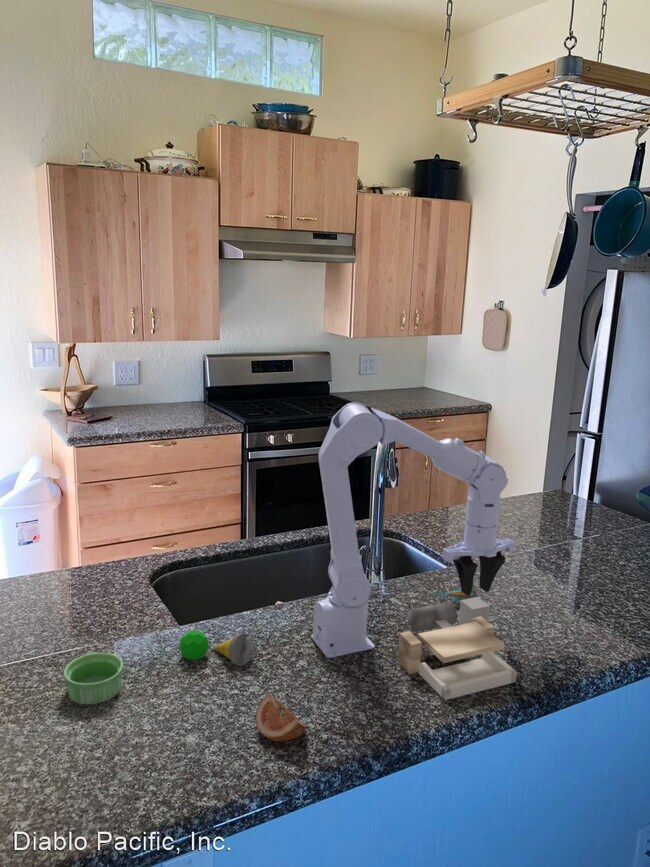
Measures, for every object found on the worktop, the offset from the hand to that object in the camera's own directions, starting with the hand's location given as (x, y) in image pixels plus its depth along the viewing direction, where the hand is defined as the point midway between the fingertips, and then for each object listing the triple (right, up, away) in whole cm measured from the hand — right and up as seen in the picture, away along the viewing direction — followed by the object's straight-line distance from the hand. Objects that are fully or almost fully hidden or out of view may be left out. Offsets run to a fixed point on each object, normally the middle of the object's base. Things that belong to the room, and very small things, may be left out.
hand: (475, 591), depth 128 cm
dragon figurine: (-4, -5, +18) cm, 19 cm away
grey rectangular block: (+1, -8, +6) cm, 10 cm away
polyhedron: (-51, -10, -7) cm, 52 cm away
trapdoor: (-6, -5, -7) cm, 11 cm away
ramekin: (-65, -12, -18) cm, 68 cm away
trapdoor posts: (-7, -11, -6) cm, 14 cm away
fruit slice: (-34, -15, -27) cm, 46 cm away
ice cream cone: (-40, -7, -11) cm, 42 cm away
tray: (-4, -12, -12) cm, 18 cm away
